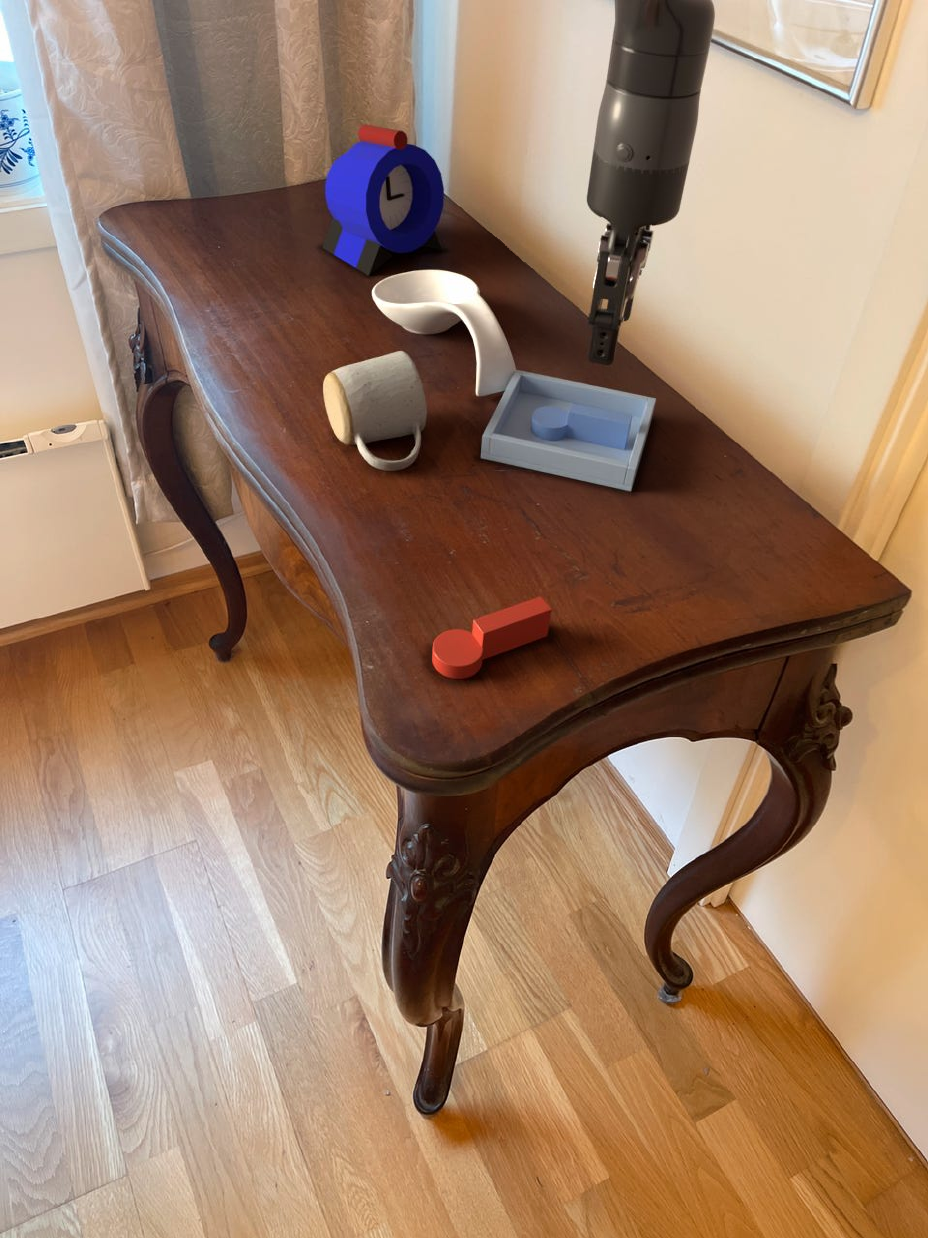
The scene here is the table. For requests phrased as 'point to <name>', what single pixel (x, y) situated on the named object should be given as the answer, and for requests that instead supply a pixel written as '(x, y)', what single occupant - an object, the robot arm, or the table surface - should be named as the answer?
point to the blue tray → (565, 457)
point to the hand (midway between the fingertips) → (609, 339)
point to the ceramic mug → (377, 405)
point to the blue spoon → (582, 425)
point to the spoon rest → (449, 318)
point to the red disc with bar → (490, 638)
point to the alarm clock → (382, 199)
